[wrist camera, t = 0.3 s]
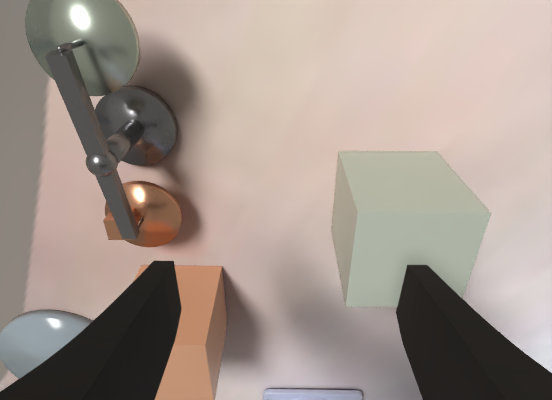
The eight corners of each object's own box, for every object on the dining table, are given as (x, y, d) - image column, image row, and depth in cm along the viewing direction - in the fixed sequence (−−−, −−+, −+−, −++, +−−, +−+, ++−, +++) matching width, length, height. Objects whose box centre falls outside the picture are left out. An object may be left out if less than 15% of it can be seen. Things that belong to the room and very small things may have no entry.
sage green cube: (418, 231, 22) (458, 308, 17) (331, 231, 23) (345, 306, 17) (437, 151, 20) (491, 212, 15) (338, 151, 20) (357, 212, 15)
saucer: (135, 388, 31) (132, 397, 30) (27, 386, 31) (21, 395, 30) (111, 310, 26) (106, 319, 26) (-17, 308, 26) (-25, 317, 26)
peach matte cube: (227, 322, 27) (214, 405, 22) (154, 321, 27) (124, 403, 22) (221, 266, 24) (205, 344, 19) (141, 265, 24) (102, 343, 19)
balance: (191, 228, 23) (166, 298, 18) (125, 228, 23) (82, 297, 18) (156, -22, 16) (100, -21, 11) (63, -21, 16) (-34, -21, 11)
